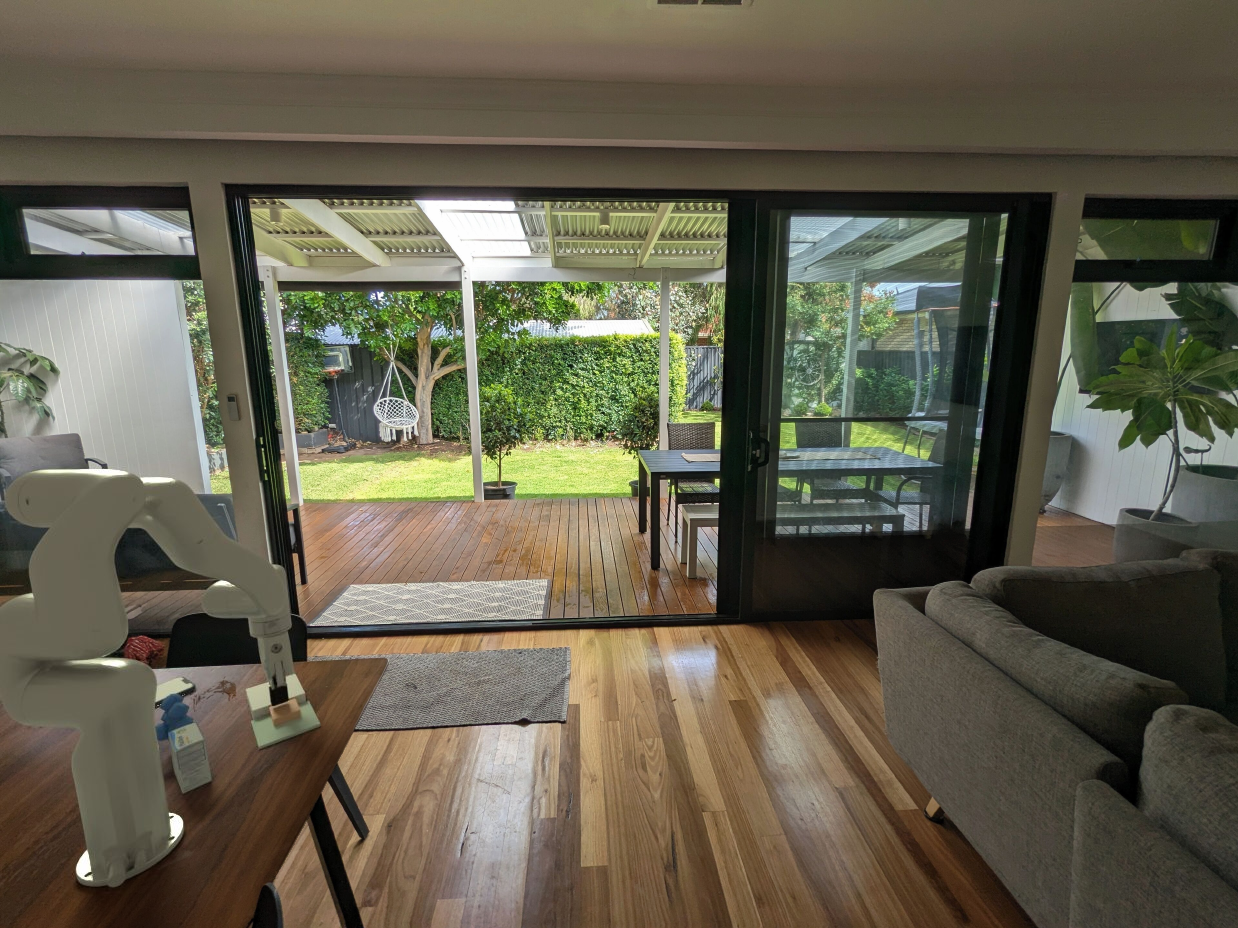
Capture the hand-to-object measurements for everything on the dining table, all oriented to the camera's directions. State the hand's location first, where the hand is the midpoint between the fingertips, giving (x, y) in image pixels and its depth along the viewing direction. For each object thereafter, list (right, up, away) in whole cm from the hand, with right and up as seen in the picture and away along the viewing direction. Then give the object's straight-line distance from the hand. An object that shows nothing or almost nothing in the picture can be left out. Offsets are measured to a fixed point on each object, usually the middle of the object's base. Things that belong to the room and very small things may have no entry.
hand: (279, 702), depth 119 cm
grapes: (-13, -5, -12) cm, 18 cm away
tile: (+2, -3, -1) cm, 3 cm away
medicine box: (-5, -6, -18) cm, 20 cm away
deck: (-4, -2, +6) cm, 7 cm away
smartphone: (-34, -3, +6) cm, 35 cm away
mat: (+3, -3, -3) cm, 6 cm away
